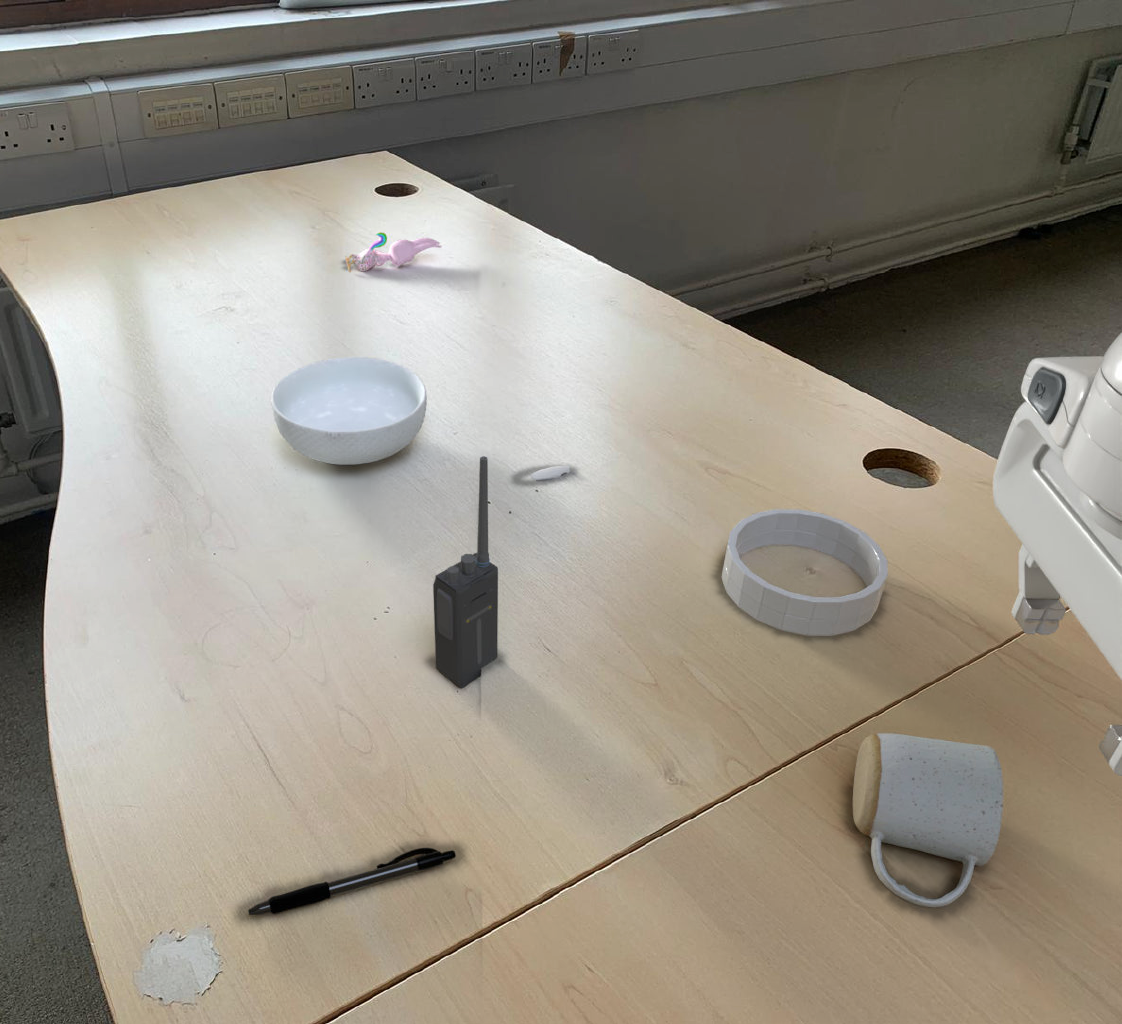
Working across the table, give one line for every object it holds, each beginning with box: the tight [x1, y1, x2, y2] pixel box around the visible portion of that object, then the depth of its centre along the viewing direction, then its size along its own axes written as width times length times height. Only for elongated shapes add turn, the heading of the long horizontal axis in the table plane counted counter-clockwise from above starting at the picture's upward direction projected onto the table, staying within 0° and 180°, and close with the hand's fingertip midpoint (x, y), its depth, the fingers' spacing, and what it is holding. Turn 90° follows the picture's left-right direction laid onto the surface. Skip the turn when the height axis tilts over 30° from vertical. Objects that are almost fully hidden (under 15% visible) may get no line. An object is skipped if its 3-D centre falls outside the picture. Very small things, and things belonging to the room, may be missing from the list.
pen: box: [247, 847, 457, 917], centre depth 66 cm, size 14×2×1 cm, turn 108°
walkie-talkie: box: [432, 456, 499, 689], centre depth 77 cm, size 5×3×20 cm
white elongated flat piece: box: [529, 464, 571, 482], centre depth 105 cm, size 6×2×1 cm, turn 105°
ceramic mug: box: [852, 732, 1004, 908], centre depth 66 cm, size 11×8×8 cm
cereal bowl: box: [270, 356, 428, 466], centre depth 110 cm, size 17×17×7 cm
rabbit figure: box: [344, 231, 443, 273], centre depth 154 cm, size 6×6×15 cm
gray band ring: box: [721, 508, 889, 637], centre depth 89 cm, size 13×13×4 cm
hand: (1073, 689), depth 49 cm, fingers open, 8 cm apart
